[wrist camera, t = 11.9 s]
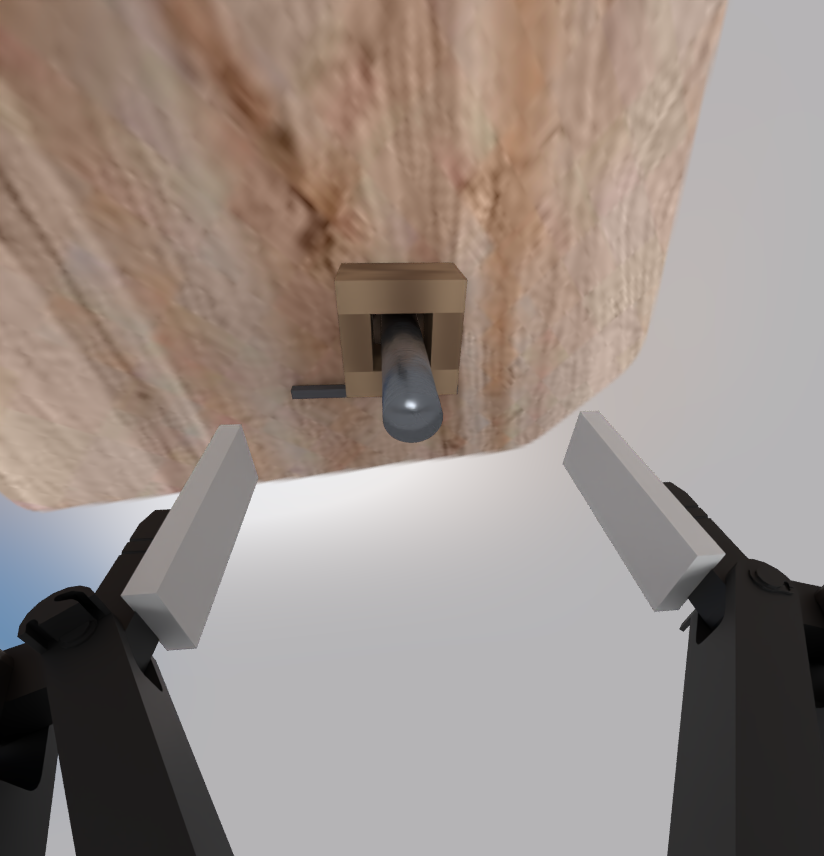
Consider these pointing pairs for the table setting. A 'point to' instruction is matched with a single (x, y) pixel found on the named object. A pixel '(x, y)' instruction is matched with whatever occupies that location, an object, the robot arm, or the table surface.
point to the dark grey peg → (407, 381)
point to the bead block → (392, 294)
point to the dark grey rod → (320, 391)
